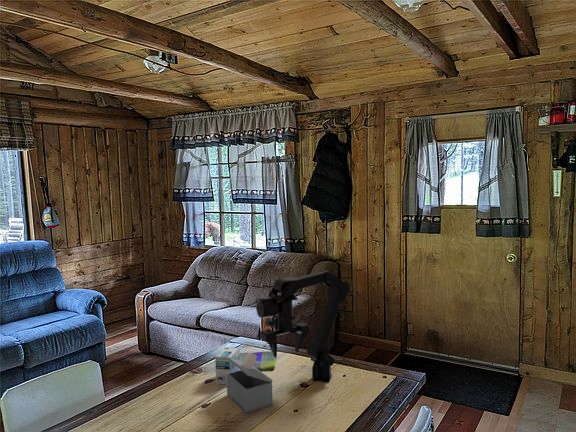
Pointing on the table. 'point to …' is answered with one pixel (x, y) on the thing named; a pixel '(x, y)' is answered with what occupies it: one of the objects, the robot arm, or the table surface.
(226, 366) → the light bulb box
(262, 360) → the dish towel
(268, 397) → the carton
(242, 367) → the carton lid
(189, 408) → the table surface
